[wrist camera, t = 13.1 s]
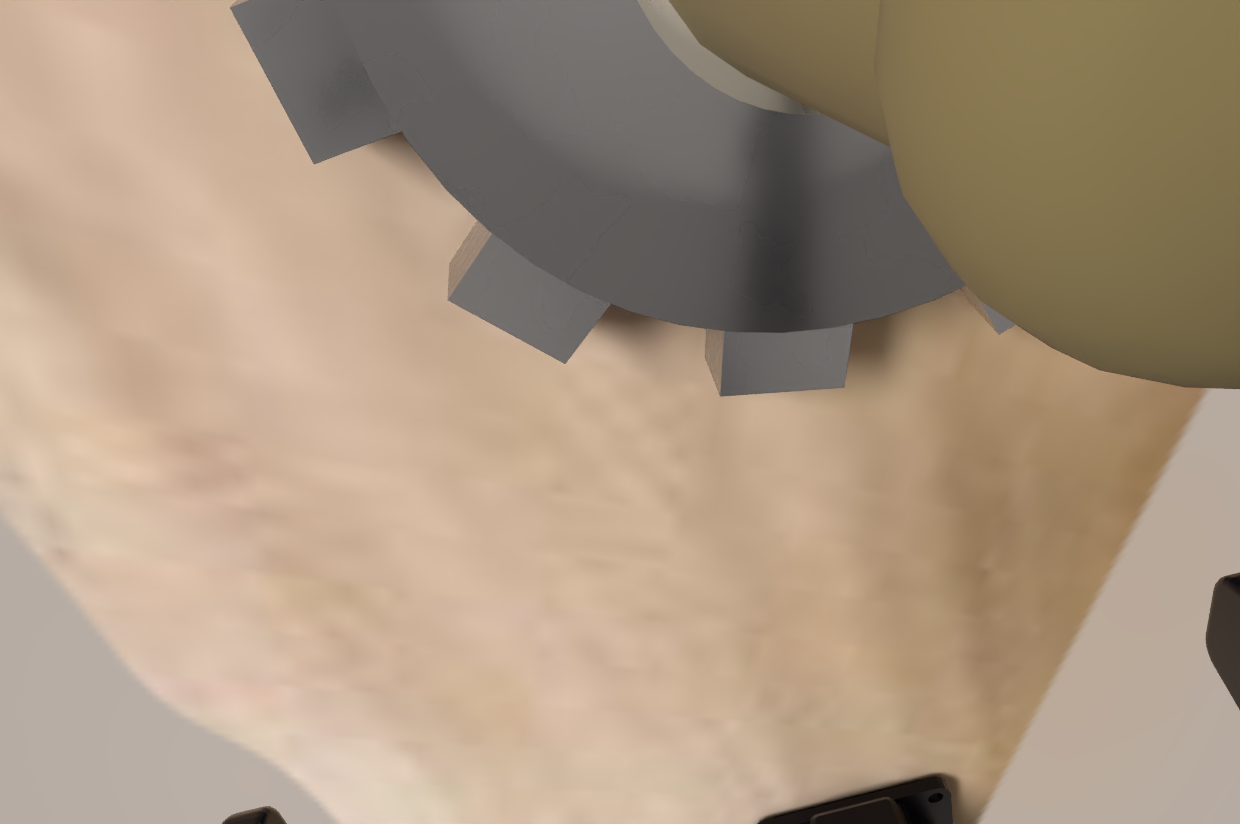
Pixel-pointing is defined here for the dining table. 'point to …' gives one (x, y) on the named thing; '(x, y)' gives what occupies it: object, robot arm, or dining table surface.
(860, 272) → the sprocket
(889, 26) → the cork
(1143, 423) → the dining table surface
